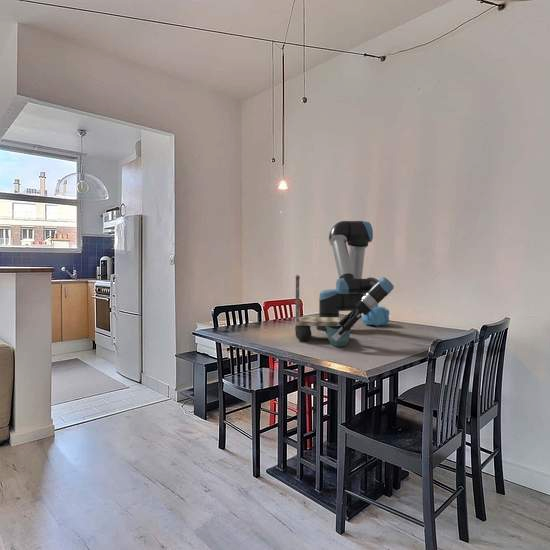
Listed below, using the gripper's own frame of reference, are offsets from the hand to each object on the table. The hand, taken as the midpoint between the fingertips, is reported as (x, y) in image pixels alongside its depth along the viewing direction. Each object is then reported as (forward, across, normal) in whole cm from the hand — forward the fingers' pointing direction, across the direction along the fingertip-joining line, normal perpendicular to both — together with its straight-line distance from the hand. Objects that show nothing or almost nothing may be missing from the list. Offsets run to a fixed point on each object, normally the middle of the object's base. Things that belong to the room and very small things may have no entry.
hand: (332, 336), depth 191 cm
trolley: (+7, -17, -1) cm, 19 cm away
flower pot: (+1, 0, +5) cm, 5 cm away
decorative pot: (-21, -62, +27) cm, 71 cm away
